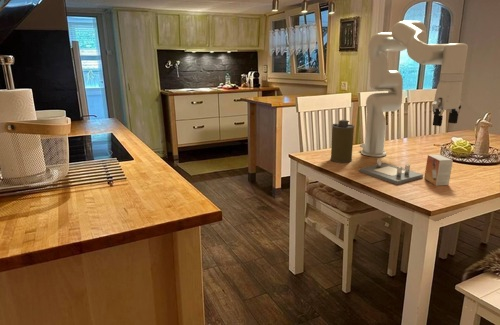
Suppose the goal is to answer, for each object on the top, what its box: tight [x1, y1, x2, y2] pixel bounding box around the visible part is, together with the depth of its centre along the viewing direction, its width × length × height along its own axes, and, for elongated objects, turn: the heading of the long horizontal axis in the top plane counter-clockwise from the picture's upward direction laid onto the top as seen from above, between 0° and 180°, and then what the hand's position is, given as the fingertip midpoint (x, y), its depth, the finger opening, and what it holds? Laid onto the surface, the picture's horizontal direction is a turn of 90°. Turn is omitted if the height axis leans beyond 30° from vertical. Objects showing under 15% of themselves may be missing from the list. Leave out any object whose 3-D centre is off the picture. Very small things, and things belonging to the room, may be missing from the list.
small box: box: [423, 154, 454, 187], centre depth 135 cm, size 8×6×10 cm
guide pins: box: [376, 157, 411, 177], centre depth 146 cm, size 14×7×4 cm, turn 29°
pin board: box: [358, 162, 424, 186], centre depth 146 cm, size 20×16×2 cm
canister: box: [330, 119, 355, 164], centre depth 166 cm, size 11×10×20 cm
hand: (444, 124), depth 130 cm, fingers open, 9 cm apart
